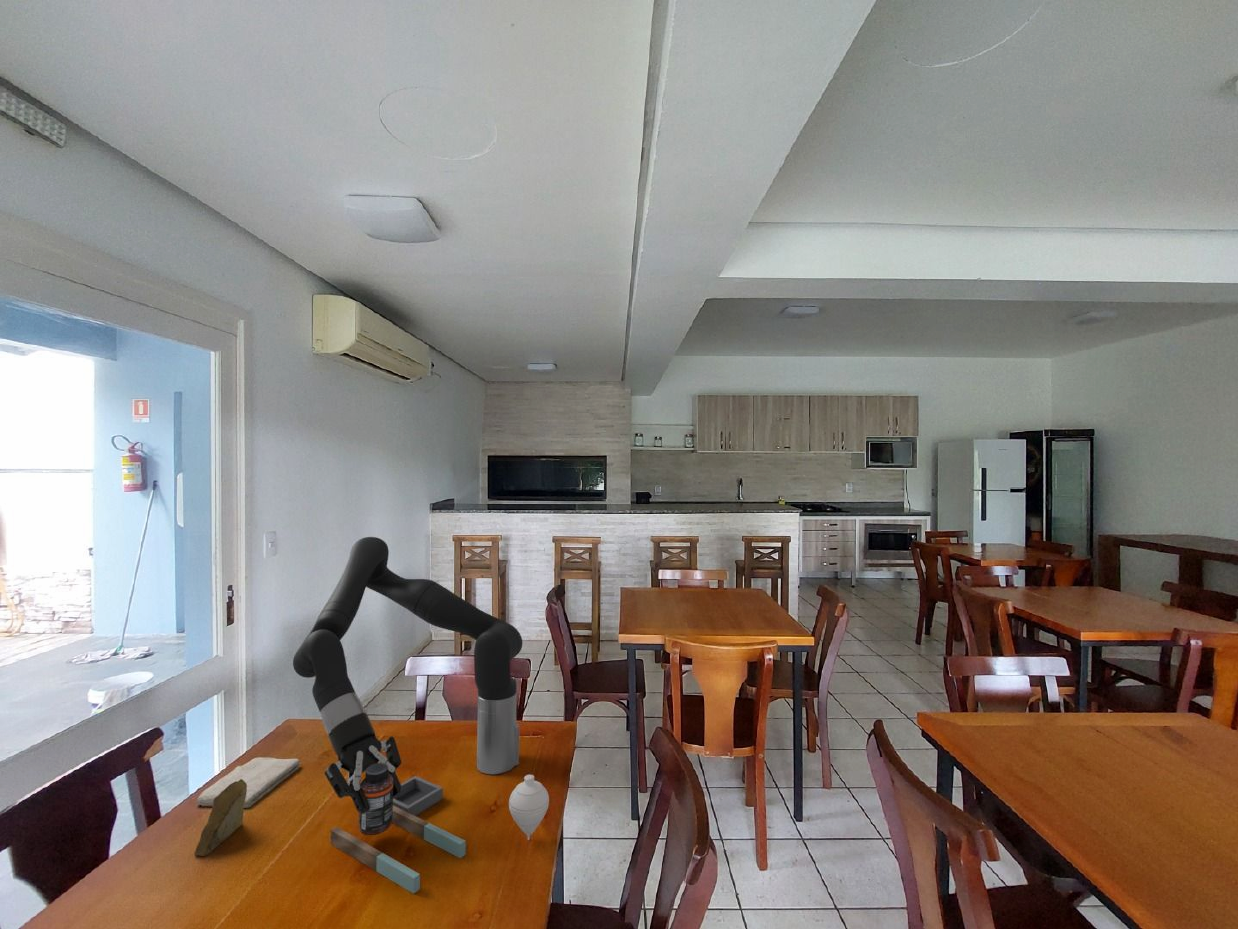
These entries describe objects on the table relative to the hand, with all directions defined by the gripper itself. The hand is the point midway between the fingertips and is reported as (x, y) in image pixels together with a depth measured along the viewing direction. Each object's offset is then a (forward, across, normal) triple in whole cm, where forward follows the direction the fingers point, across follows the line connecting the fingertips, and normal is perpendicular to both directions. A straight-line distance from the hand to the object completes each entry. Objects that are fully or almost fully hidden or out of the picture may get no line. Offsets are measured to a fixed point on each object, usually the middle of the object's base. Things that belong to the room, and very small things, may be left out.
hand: (381, 802), depth 105 cm
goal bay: (+13, -1, +2) cm, 13 cm away
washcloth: (-23, +3, -37) cm, 44 cm away
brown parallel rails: (+5, -1, -6) cm, 8 cm away
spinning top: (+21, -16, +11) cm, 29 cm away
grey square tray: (+1, -12, -10) cm, 16 cm away
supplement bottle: (+3, 0, -5) cm, 6 cm away
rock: (-13, +16, -26) cm, 33 cm away
